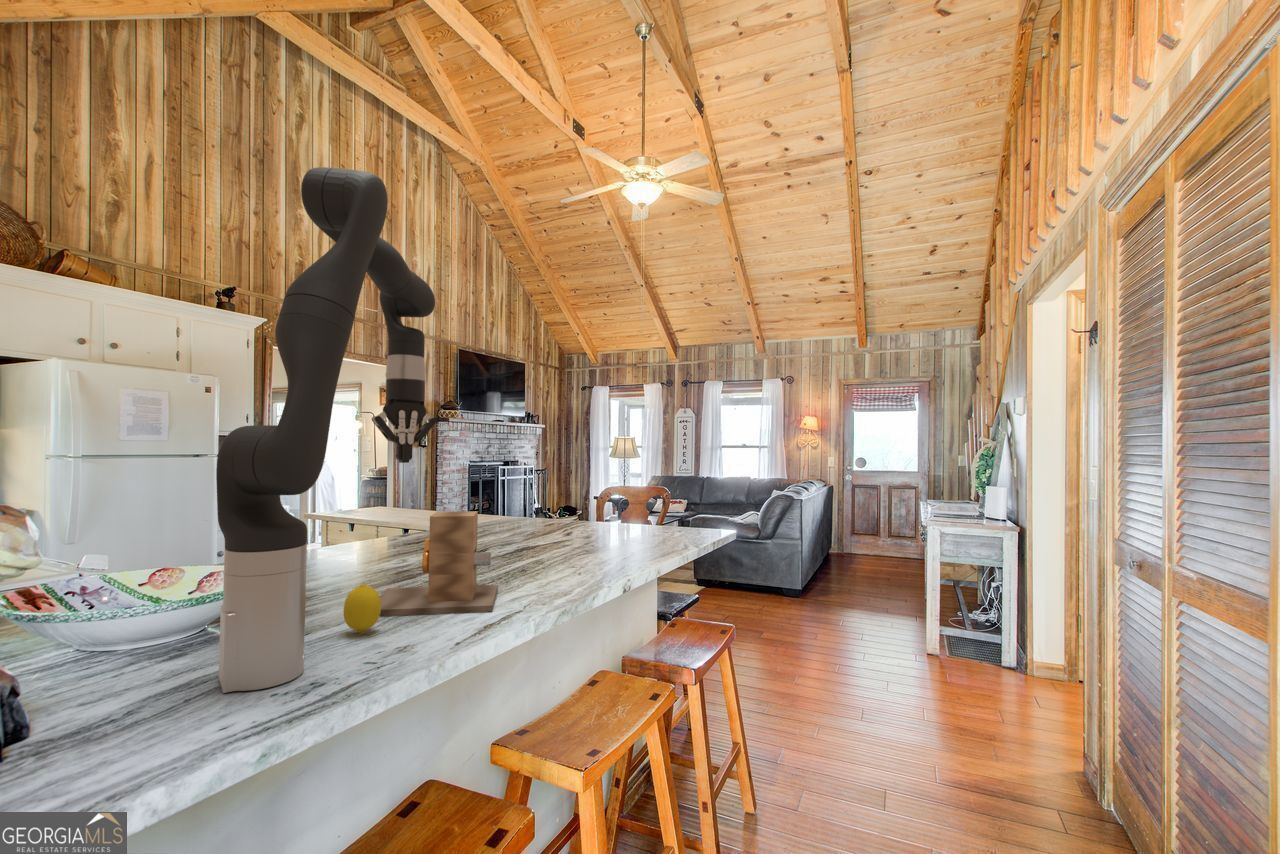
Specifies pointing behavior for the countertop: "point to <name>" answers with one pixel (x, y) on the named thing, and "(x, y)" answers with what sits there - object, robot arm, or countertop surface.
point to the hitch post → (445, 573)
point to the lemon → (362, 608)
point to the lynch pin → (479, 558)
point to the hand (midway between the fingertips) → (404, 462)
